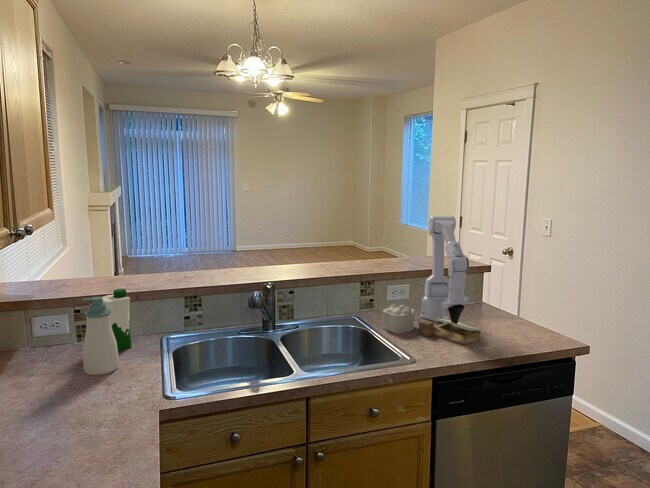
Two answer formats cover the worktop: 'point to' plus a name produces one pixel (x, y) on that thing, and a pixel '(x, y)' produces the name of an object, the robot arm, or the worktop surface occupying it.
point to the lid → (458, 324)
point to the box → (456, 334)
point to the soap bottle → (99, 340)
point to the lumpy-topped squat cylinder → (398, 319)
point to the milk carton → (119, 317)
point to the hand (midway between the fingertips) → (454, 323)
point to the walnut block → (426, 328)
